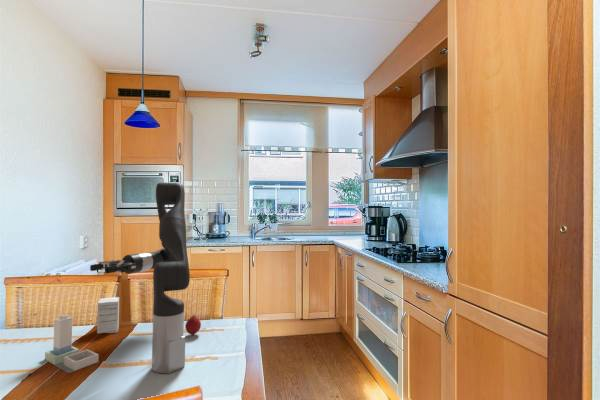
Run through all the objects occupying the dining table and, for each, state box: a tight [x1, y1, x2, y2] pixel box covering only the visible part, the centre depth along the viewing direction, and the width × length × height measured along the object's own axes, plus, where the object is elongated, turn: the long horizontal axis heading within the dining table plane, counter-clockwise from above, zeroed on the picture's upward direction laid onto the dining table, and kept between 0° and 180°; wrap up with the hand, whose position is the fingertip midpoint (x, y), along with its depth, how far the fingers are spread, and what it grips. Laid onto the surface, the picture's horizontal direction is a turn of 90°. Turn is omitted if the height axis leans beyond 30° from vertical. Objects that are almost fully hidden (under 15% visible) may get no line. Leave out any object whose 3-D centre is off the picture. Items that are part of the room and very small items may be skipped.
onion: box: [184, 314, 202, 336], centre depth 132 cm, size 6×6×8 cm
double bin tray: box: [44, 345, 100, 374], centre depth 107 cm, size 17×9×3 cm, turn 58°
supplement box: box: [96, 296, 120, 334], centre depth 135 cm, size 7×7×13 cm
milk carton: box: [52, 313, 73, 356], centre depth 109 cm, size 4×4×14 cm
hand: (97, 269), depth 120 cm, fingers open, 8 cm apart
